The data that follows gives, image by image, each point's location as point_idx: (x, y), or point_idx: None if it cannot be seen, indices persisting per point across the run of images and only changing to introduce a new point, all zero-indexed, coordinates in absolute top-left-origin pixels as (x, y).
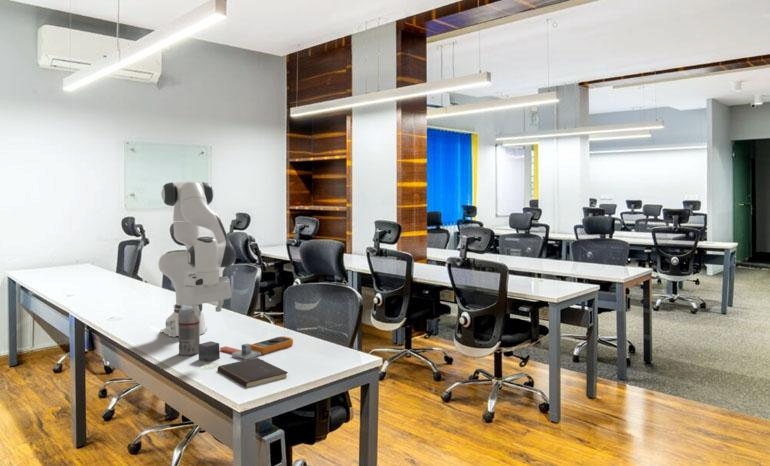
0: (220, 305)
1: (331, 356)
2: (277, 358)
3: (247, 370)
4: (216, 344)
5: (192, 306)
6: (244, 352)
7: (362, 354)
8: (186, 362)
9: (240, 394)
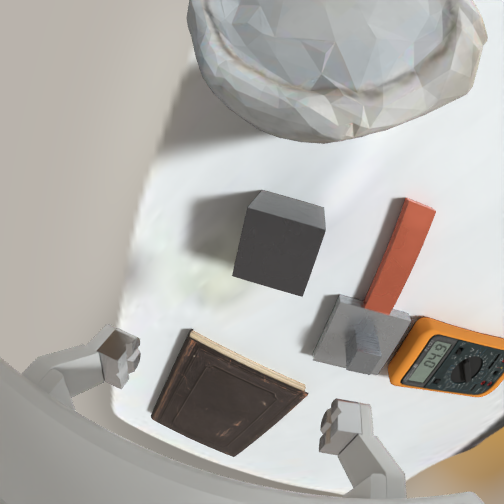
0: (346, 468)
1: None
2: None
3: (201, 407)
4: (285, 291)
5: (36, 370)
6: (348, 345)
7: None
8: (208, 171)
9: (129, 409)
